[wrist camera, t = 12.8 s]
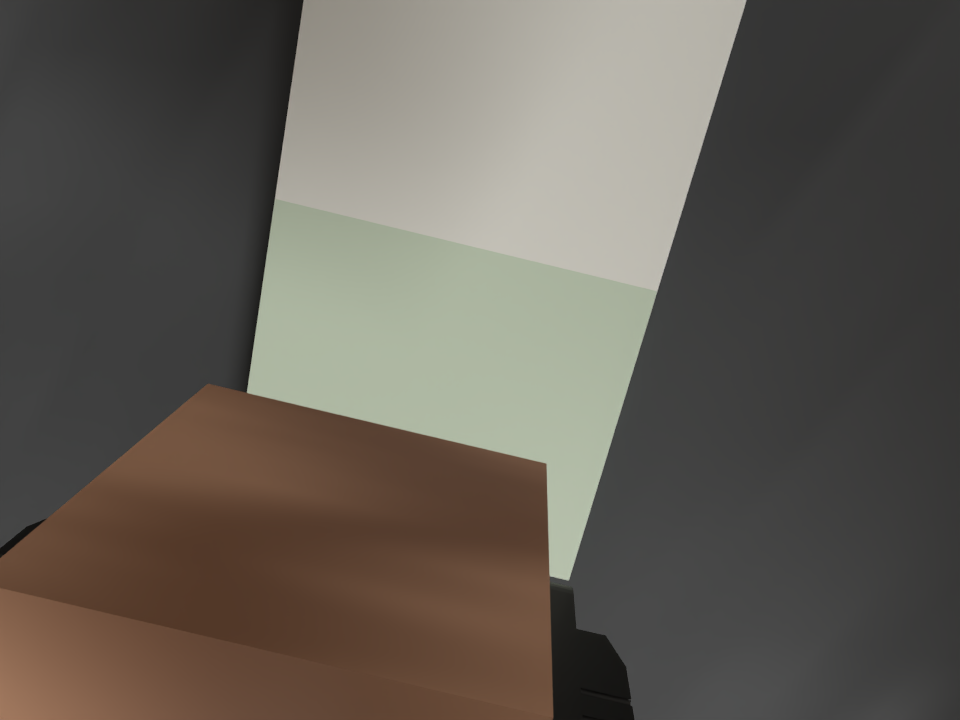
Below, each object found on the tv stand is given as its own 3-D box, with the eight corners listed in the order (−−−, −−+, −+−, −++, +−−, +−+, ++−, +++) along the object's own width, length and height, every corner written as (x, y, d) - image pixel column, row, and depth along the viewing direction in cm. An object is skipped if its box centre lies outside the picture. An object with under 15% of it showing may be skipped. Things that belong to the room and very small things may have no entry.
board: (761, -78, 15) (773, -88, 14) (567, 561, 19) (568, 580, 18) (342, -178, 15) (331, -194, 14) (244, 483, 19) (231, 498, 18)
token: (546, 463, 10) (552, 717, 6) (471, 733, 12) (432, 1096, 7) (208, 383, 10) (-27, 581, 6) (173, 664, 12) (-38, 987, 7)
